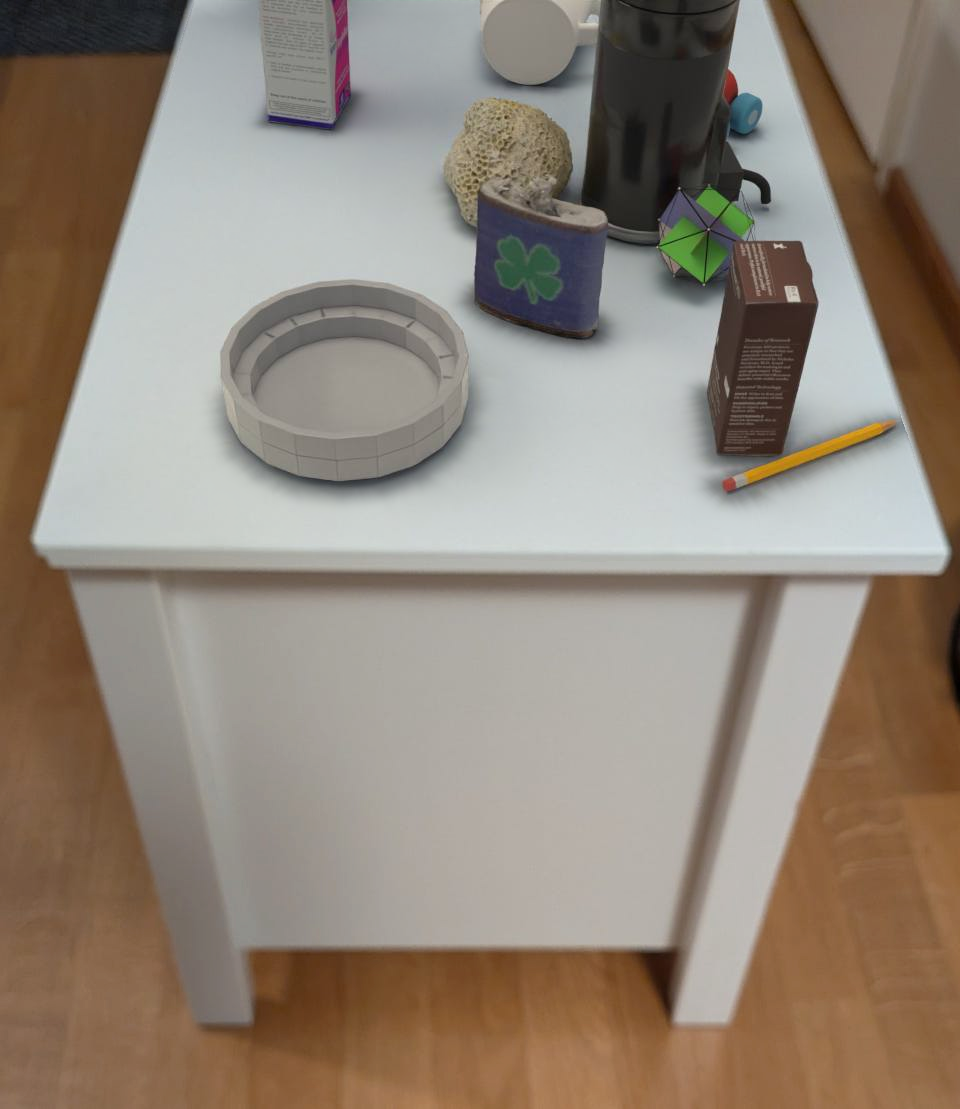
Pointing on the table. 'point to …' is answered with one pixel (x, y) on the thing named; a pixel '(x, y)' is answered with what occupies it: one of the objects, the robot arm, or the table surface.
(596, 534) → the table surface
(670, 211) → the geometric puzzle
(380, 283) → the bowl
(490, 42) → the mug
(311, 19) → the supplement box
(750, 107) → the toy car
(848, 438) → the pencil
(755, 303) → the box
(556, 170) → the decorative item
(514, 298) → the flask
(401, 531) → the table surface
